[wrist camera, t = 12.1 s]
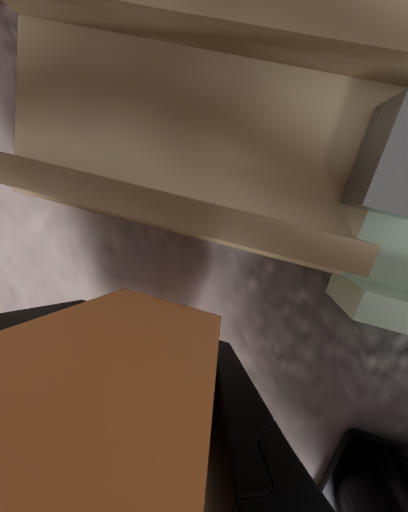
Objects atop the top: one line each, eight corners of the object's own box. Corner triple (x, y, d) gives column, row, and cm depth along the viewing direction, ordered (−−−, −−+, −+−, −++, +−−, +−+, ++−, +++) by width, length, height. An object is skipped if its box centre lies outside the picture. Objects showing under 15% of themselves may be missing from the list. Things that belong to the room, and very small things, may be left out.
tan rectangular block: (194, 414, 11) (44, 1169, 2) (100, 383, 11) (-390, 885, 2) (221, 316, 11) (191, 638, 2) (124, 288, 11) (-302, 433, 2)
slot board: (331, 268, 12) (362, 290, 9) (33, 191, 13) (-26, 189, 10) (414, 54, 9) (491, -11, 7) (43, -12, 11) (-30, -89, 8)
